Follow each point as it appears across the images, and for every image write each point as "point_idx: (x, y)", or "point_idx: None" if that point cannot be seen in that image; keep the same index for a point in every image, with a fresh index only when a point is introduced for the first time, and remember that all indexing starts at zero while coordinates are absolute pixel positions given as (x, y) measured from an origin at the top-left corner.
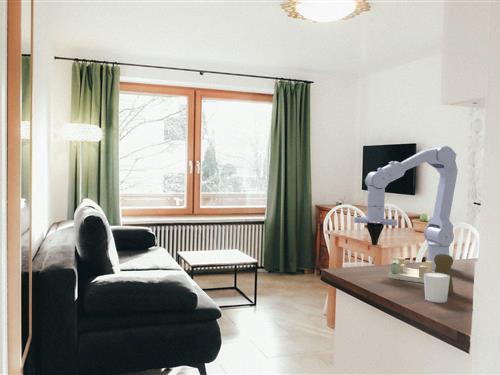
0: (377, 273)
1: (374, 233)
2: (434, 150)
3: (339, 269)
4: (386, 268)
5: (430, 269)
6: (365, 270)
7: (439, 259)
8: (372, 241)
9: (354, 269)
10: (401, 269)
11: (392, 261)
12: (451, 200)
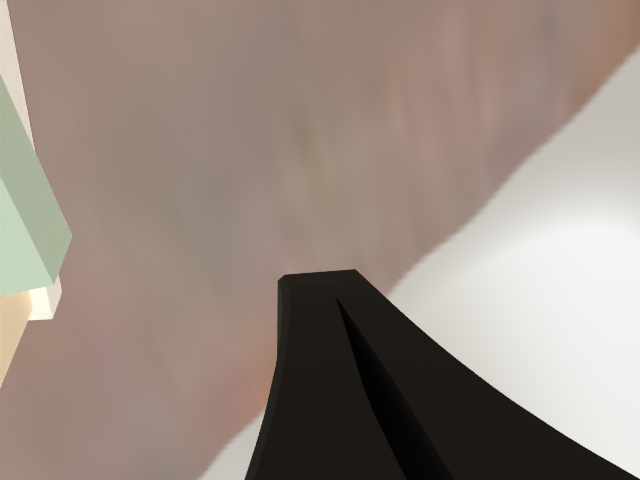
0: (202, 76)
1: (389, 464)
2: None
3: (596, 35)
4: (199, 325)
5: None
6: (351, 142)
7: None
8: (371, 303)
9: (457, 123)
10: None
11: (15, 209)
12: None
